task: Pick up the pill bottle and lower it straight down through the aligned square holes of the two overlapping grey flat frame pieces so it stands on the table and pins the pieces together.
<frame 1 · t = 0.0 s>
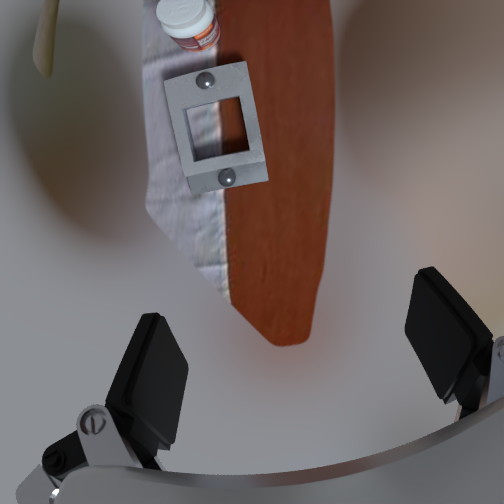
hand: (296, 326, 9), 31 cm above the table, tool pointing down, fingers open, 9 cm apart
grey flat frame piece: (217, 128, 34), on the table
pill bottle: (199, 35, 28), on the table
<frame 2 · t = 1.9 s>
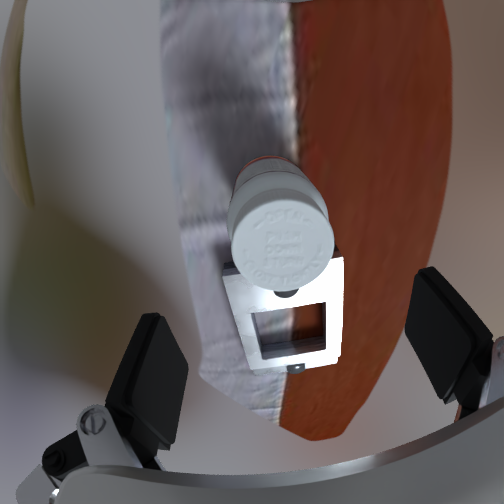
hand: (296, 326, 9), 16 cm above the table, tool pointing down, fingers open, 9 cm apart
grey flat frame piece: (289, 318, 30), on the table
pill bottle: (269, 188, 23), on the table
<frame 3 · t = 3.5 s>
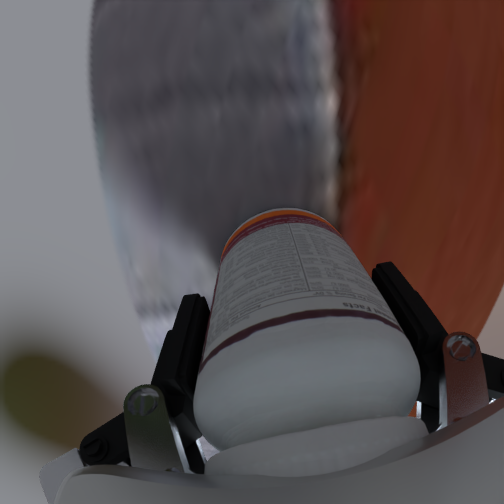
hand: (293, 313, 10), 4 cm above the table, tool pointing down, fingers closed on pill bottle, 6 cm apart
pill bottle: (283, 262, 13), on the table, touching gripper
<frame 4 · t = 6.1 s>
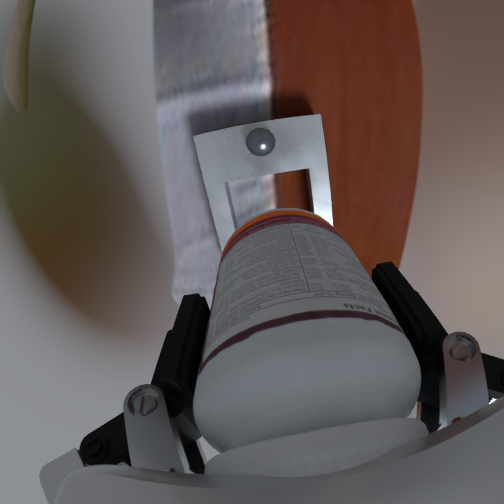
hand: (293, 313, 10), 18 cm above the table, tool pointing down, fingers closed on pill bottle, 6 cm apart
grey flat frame piece: (271, 206, 27), on the table
pill bottle: (283, 262, 13), point 14 cm above the table, touching gripper
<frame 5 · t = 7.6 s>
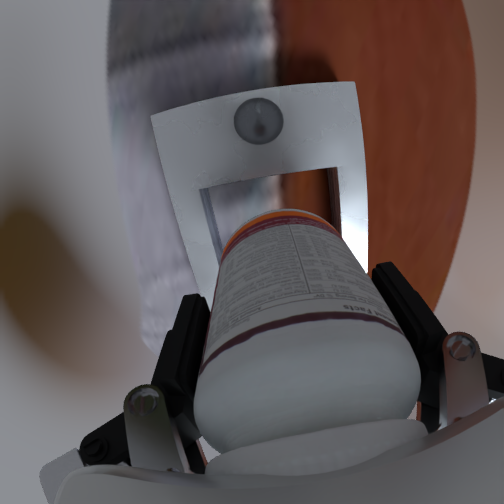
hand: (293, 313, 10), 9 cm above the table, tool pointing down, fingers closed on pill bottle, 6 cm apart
grey flat frame piece: (275, 224, 18), on the table
pill bottle: (283, 263, 13), point 5 cm above the table, touching gripper
when the fingers open (4 cm above the table, at t = 8.9 s): pill bottle stays where it is, resting in grey flat frame piece.
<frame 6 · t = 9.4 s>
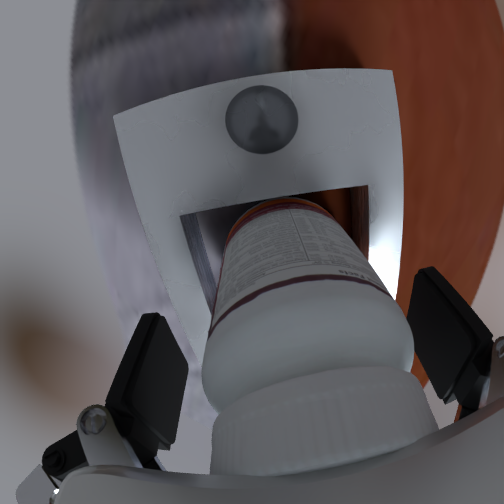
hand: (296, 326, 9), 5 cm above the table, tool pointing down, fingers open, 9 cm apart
grey flat frame piece: (282, 255, 14), on the table
pill bottle: (284, 249, 14), resting in grey flat frame piece
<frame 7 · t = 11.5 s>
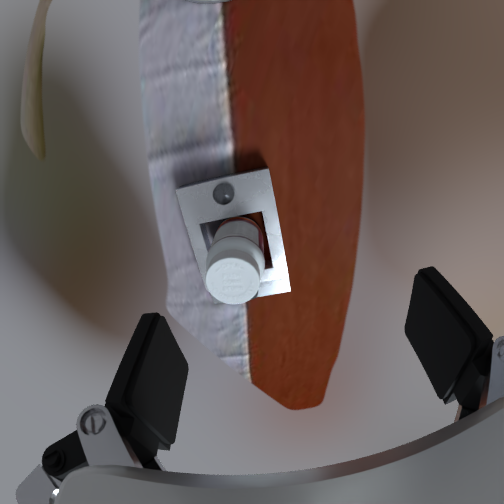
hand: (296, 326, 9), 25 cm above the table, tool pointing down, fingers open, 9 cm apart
grey flat frame piece: (238, 239, 35), on the table
pill bottle: (239, 237, 35), resting in grey flat frame piece
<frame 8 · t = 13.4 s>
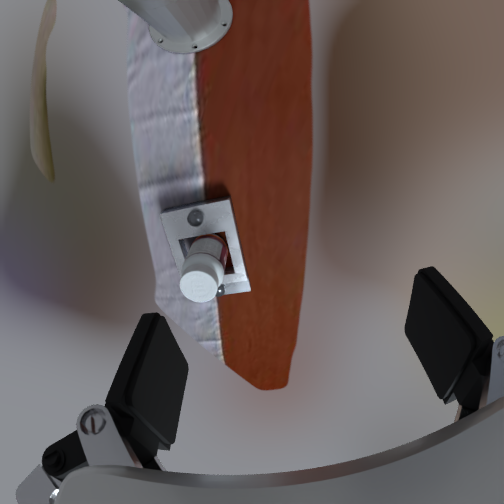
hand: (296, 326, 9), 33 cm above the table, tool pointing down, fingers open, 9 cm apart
grey flat frame piece: (209, 250, 45), on the table
pill bottle: (209, 248, 45), resting in grey flat frame piece
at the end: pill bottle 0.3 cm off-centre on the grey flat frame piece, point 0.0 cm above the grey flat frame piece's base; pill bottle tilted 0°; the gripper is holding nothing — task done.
